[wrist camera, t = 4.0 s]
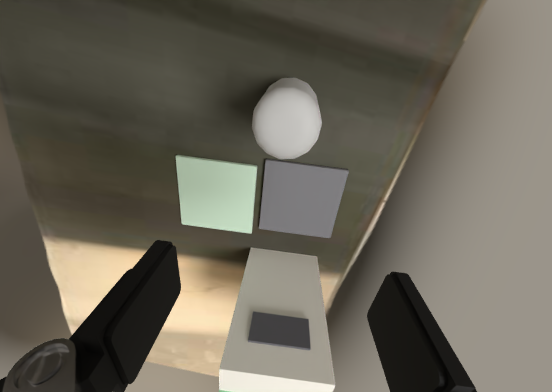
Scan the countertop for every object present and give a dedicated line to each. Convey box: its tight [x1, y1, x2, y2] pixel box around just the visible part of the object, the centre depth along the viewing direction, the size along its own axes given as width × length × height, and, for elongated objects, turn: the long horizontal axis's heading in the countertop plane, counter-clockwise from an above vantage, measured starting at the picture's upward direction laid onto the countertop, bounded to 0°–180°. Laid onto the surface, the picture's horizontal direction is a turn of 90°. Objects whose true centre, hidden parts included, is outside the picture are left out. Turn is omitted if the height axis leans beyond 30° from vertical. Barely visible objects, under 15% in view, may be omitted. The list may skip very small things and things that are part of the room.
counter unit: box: [219, 247, 335, 392], centre depth 27 cm, size 7×10×16 cm, turn 83°
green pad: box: [176, 155, 257, 233], centre depth 29 cm, size 10×10×1 cm
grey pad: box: [259, 159, 349, 238], centre depth 29 cm, size 10×10×1 cm
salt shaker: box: [252, 78, 322, 159], centre depth 18 cm, size 6×6×13 cm
